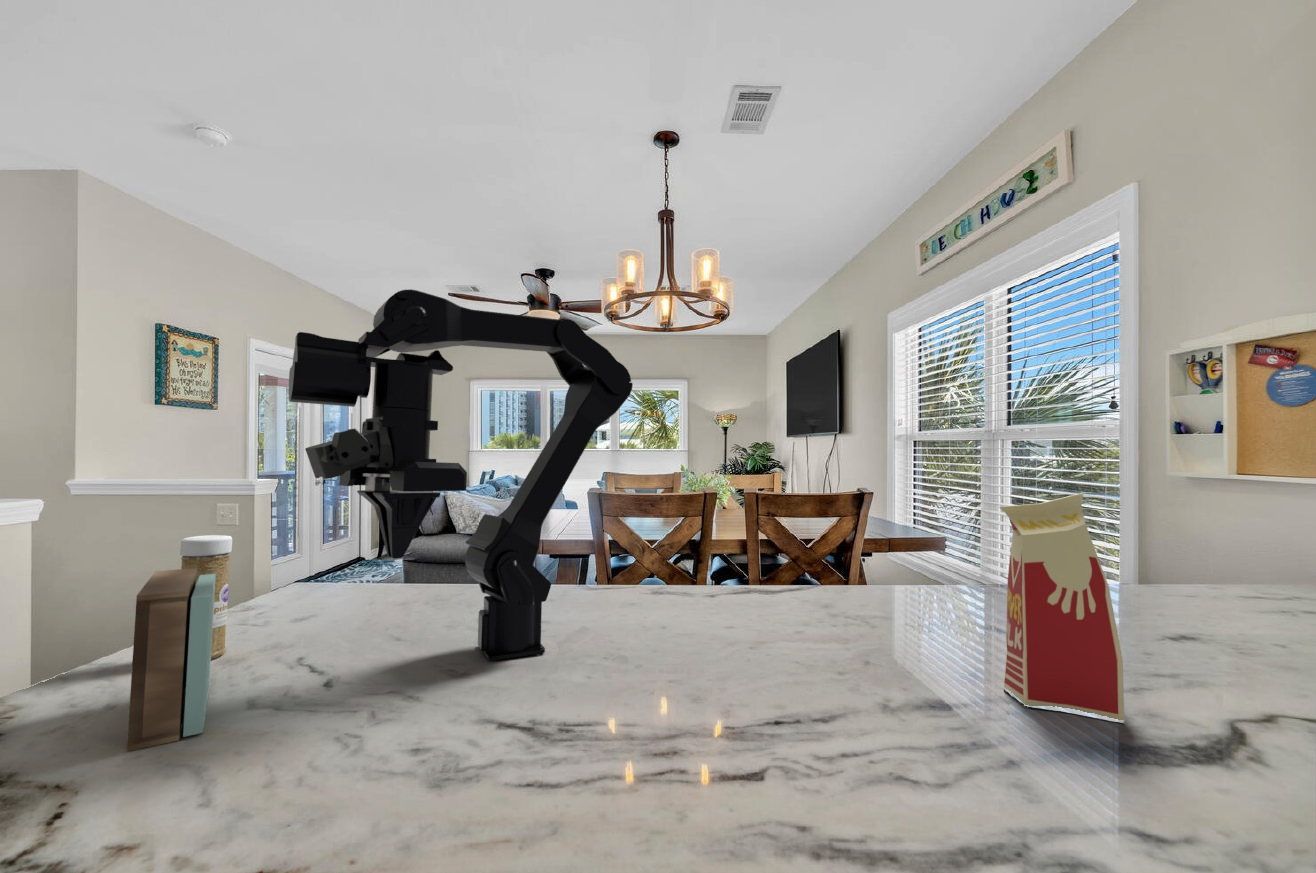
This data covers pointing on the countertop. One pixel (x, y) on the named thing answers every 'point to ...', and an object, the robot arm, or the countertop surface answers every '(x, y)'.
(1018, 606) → the milk carton
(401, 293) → the robot arm
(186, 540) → the sprinkles bottle
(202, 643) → the door
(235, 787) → the countertop surface
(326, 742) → the countertop surface
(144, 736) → the cabinet
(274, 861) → the countertop surface
